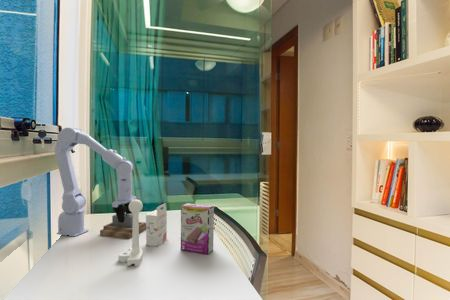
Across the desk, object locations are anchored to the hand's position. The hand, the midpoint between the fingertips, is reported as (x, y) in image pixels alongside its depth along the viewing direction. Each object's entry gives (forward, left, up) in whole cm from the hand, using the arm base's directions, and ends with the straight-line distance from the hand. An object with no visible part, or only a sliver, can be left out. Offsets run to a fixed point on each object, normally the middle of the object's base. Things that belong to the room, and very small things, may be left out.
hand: (125, 220), depth 122 cm
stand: (0, 0, -5) cm, 5 cm away
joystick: (+19, -24, -5) cm, 31 cm away
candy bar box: (+37, -10, -5) cm, 39 cm away
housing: (0, 0, -3) cm, 3 cm away
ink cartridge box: (+19, -7, -5) cm, 21 cm away
